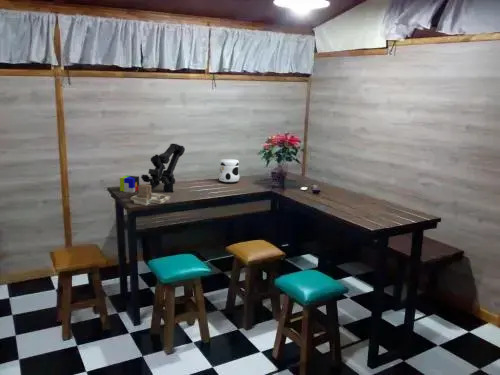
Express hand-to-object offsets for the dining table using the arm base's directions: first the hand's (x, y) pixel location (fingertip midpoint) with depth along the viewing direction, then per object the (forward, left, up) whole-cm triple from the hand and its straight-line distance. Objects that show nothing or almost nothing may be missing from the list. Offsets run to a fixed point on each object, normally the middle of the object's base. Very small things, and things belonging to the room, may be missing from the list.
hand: (150, 189), depth 294 cm
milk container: (-68, -47, -7) cm, 83 cm away
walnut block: (+4, +6, -5) cm, 9 cm away
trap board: (+1, +2, -7) cm, 7 cm away
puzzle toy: (+12, -28, -7) cm, 31 cm away
